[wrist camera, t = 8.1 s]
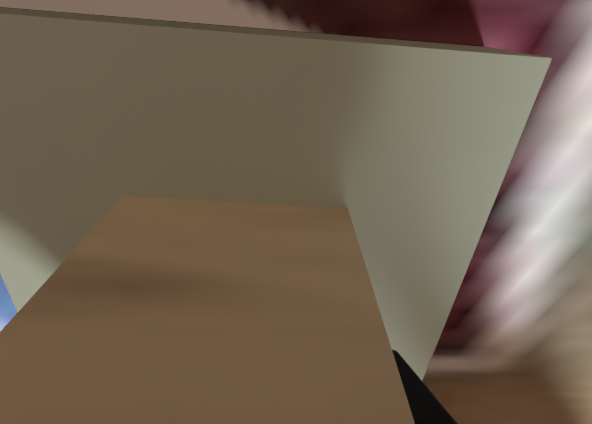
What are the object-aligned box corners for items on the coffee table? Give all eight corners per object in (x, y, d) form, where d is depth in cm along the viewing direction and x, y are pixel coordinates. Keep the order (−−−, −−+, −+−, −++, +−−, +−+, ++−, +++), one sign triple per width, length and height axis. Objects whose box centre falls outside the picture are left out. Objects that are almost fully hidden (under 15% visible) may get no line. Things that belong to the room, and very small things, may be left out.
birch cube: (323, 354, 12) (349, 599, 7) (152, 349, 12) (50, 602, 7) (347, 207, 10) (421, 443, 4) (122, 196, 9) (-94, 436, 4)
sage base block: (388, 358, 17) (407, 419, 15) (97, 349, 16) (61, 412, 14) (485, 46, 10) (552, 58, 8) (-9, 6, 10) (-119, 4, 7)
